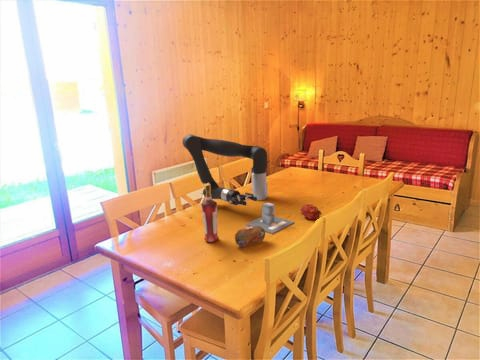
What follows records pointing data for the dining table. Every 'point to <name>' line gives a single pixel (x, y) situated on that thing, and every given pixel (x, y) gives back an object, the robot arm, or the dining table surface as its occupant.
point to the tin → (250, 236)
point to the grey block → (268, 213)
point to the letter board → (273, 227)
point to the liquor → (209, 216)
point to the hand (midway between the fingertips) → (251, 201)
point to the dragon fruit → (310, 211)
